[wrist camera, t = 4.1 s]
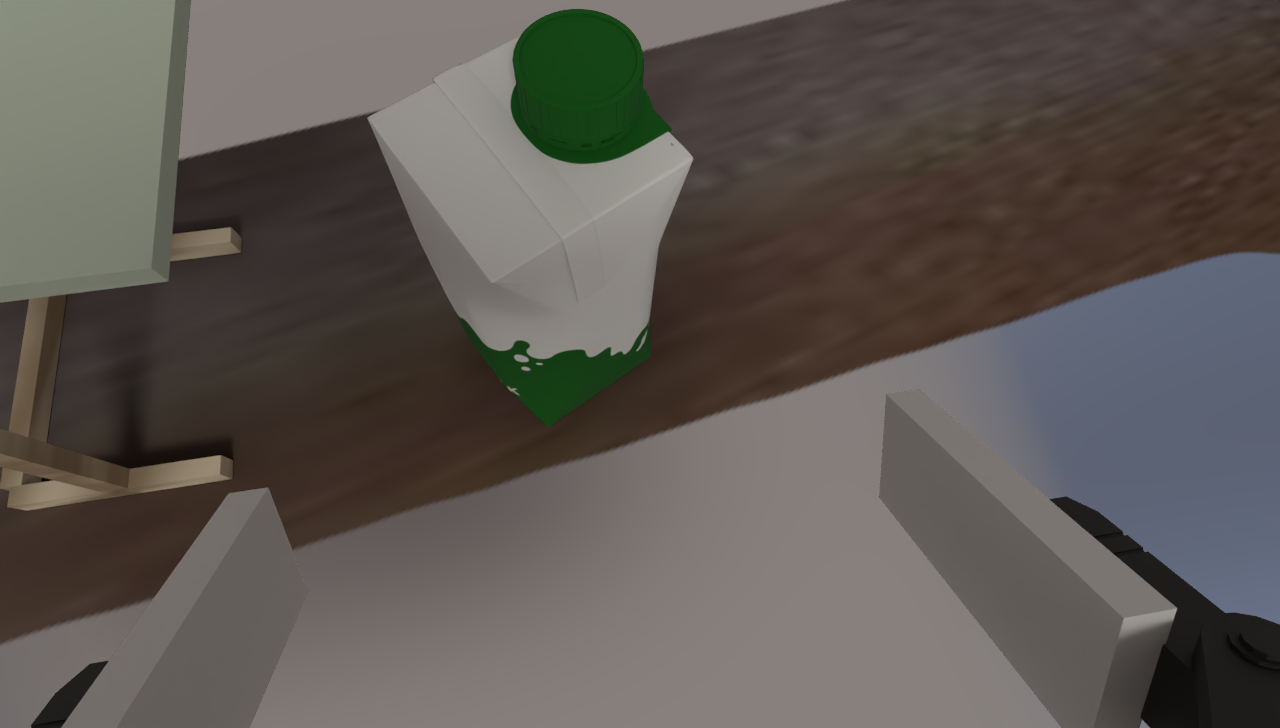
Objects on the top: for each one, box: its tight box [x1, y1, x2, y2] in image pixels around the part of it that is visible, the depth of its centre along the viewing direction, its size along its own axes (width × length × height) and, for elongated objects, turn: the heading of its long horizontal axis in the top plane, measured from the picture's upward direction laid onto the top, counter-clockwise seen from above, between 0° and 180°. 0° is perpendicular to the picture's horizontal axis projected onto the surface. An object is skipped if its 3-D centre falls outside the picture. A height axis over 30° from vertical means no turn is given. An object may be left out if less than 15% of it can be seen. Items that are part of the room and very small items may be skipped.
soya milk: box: [368, 9, 693, 427], centre depth 29 cm, size 9×9×20 cm
